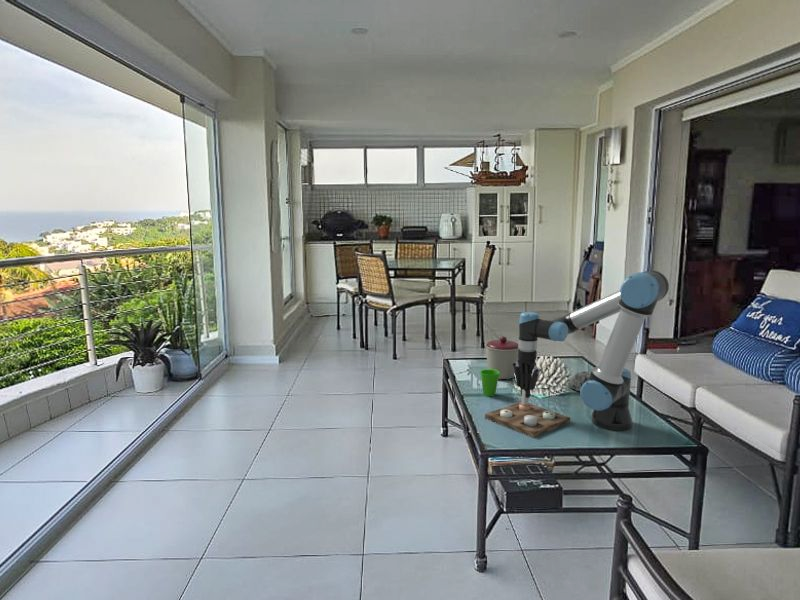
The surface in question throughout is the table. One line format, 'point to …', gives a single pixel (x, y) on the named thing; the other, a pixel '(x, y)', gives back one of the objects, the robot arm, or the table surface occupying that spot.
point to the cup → (489, 381)
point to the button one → (506, 413)
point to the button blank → (530, 421)
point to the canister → (502, 356)
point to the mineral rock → (578, 380)
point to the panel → (518, 419)
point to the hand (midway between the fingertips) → (524, 404)
